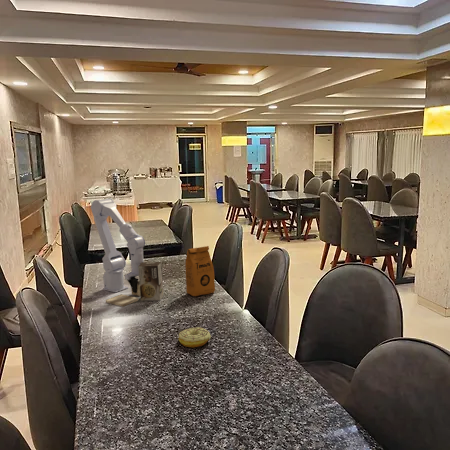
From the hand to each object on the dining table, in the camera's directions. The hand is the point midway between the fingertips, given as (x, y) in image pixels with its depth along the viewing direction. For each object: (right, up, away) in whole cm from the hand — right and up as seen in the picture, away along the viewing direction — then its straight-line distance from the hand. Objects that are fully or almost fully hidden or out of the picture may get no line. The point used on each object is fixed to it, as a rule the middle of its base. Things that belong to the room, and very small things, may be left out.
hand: (139, 290), depth 191 cm
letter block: (0, -1, 0) cm, 1 cm away
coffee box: (+7, -3, -7) cm, 10 cm away
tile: (-5, -3, -10) cm, 12 cm away
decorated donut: (+30, -10, -51) cm, 60 cm away
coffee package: (+29, -1, -2) cm, 29 cm away
